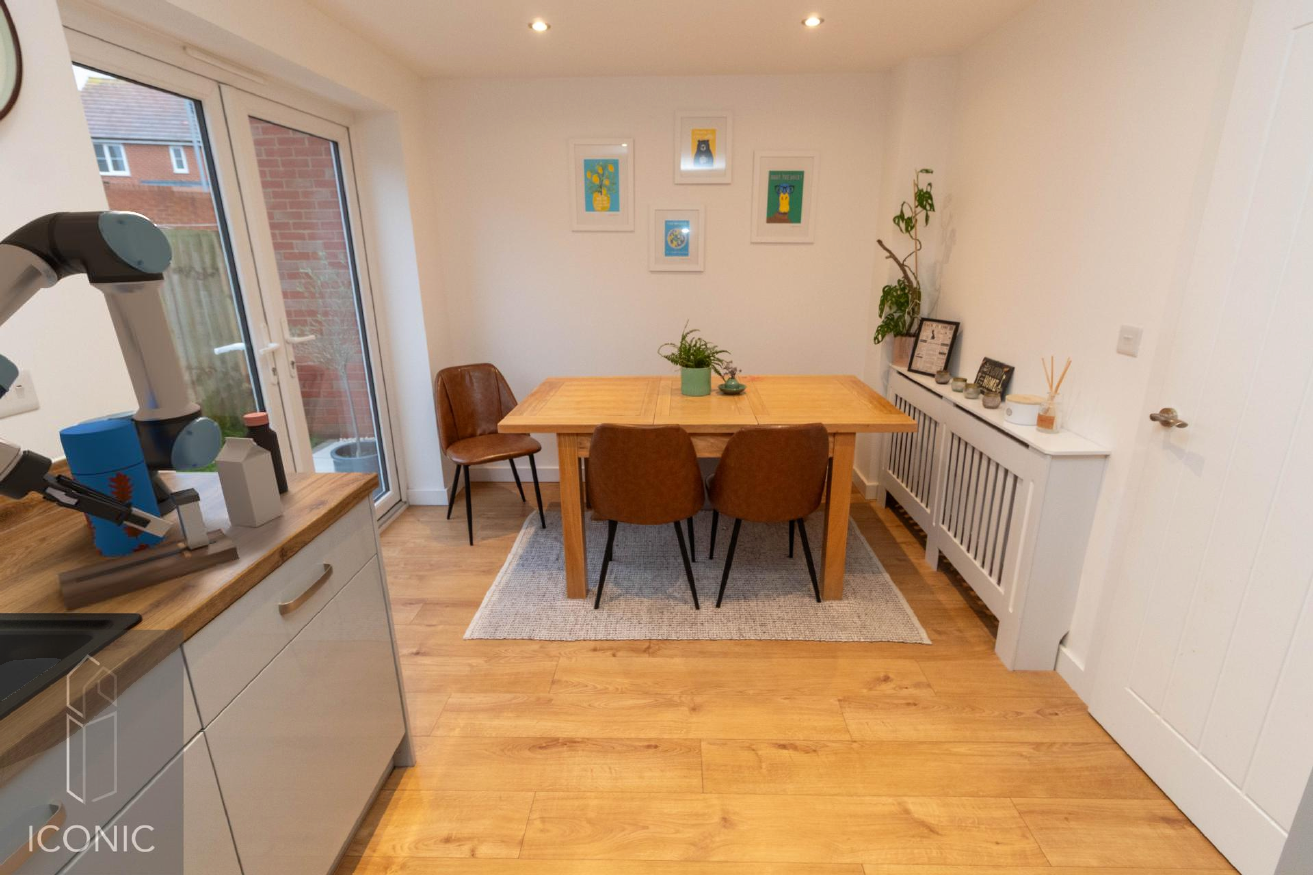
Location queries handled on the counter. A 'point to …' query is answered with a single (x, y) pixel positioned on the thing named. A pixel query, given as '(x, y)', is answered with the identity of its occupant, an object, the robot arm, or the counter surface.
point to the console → (142, 569)
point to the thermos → (112, 480)
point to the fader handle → (190, 517)
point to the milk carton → (248, 482)
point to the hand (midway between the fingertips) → (166, 529)
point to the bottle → (266, 444)
